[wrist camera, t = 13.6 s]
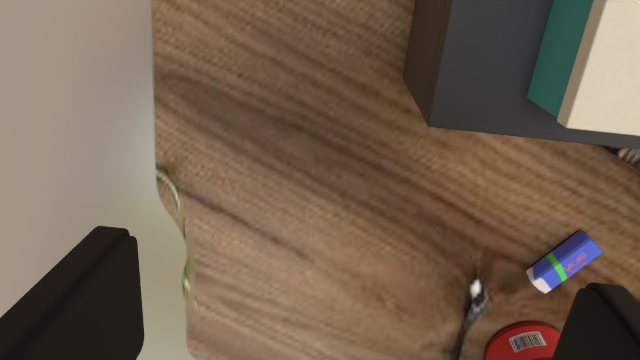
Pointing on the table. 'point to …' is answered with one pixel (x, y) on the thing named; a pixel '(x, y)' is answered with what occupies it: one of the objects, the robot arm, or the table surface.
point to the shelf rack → (486, 70)
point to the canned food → (524, 342)
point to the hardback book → (626, 156)
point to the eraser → (563, 262)
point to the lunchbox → (591, 65)
